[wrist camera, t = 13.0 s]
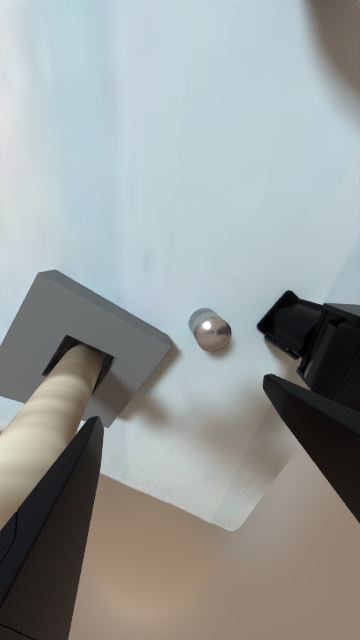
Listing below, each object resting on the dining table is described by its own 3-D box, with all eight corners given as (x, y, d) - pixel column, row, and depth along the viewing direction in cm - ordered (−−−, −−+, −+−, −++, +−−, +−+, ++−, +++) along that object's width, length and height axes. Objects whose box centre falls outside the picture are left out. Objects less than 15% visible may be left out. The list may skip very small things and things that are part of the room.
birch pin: (69, 337, 20) (-71, 489, 7) (105, 337, 21) (40, 474, 8) (73, 365, 21) (-38, 537, 8) (107, 364, 22) (53, 519, 9)
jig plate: (55, 269, 17) (38, 272, 14) (167, 335, 22) (170, 346, 19) (1, 370, 20) (-23, 389, 17) (112, 408, 25) (108, 428, 22)
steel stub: (201, 302, 21) (213, 312, 18) (223, 318, 23) (238, 330, 19) (182, 326, 22) (190, 341, 18) (205, 340, 24) (216, 357, 20)
